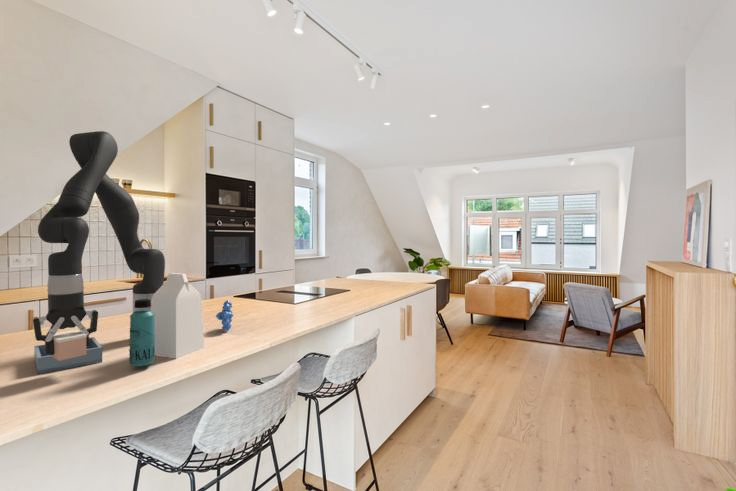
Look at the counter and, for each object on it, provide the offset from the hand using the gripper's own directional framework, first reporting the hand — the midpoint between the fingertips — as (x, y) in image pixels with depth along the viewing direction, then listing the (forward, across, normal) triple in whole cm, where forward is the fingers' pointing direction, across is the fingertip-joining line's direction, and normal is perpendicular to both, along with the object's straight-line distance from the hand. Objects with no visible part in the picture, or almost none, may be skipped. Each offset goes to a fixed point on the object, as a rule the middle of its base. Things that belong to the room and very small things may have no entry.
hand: (67, 351), depth 101 cm
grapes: (+8, -52, -18) cm, 55 cm away
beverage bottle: (+7, -16, +7) cm, 19 cm away
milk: (+7, -28, -2) cm, 30 cm away
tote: (+7, -2, -14) cm, 15 cm away
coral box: (+1, 0, 0) cm, 1 cm away
